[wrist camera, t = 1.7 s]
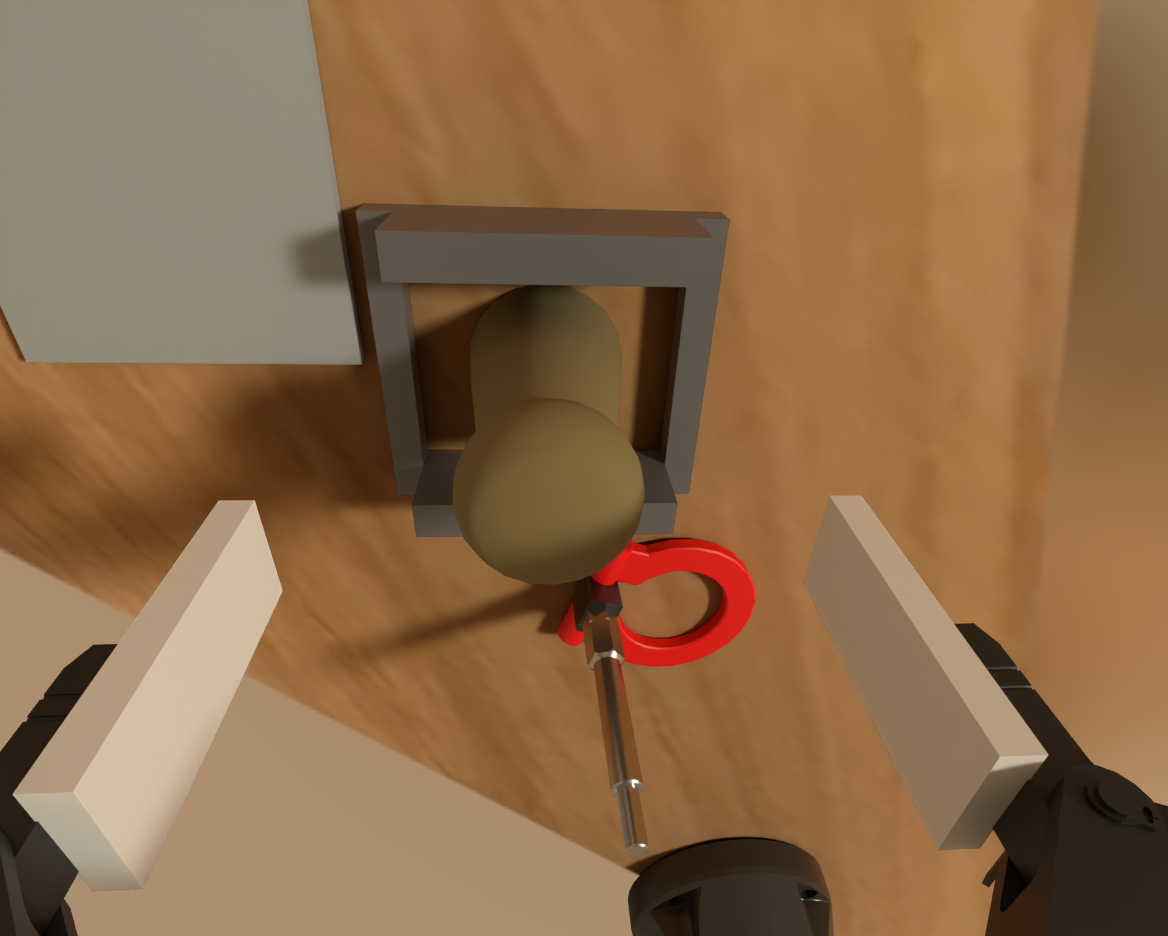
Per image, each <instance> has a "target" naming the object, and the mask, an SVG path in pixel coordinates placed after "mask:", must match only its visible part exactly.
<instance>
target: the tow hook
mask: <svg viewBox="0 0 1168 936" xmlns="http://www.w3.org/2000/svg"><path fill="white" fill-rule="evenodd" d="M673 571H691V572H696V573H701V574H704V575H706V576H708V577H710V578H712V579H714V580H715V581H716V582H717V583H718V584H719V585H720V586H721V587H722V591H723V598H722V602H721V606H720V607H719V609H718V611H717V612H716V614H715V615H714V616H713V617H712V618H711V619H710V620H709V621H708V622H707V623H706V624H705V625H703V626H702V627H700V628H699V629H697V630H695V631H693V632H691V633H688V634H686V635H683V636H679V637H674V638H667V639H655V638H648V637H644V636H641V635H639V634H636V633H634V632H632V631H631V630H630V629H628V628H627V627H626V626H625V625H624V623H623V622H622V620H621V619H620V616H619V613H620V611H621V610H622V608H623V606H622V602H621V597H620V592H619V587H618V582H623V583H627V584H632V585H638V584H641V583H643V582H644V581H646V580H648V579H650V578H653V577H655V576H657V575H660V574H664V573H669V572H673ZM617 581H618V582H617ZM754 604H755V588H754V584H753V582H752V580H751V577H750V575H749V573H748V571H747V569H746V567H745V565H744V563H743V562H742V561H741V560H740V559H739V558H738V557H737V556H736V555H735V554H734V553H733V552H731V551H729V550H727V549H725V548H723V547H721V546H719V545H717V544H715V543H711V542H706V541H701V540H696V539H672V540H667V541H663V542H658V543H653V544H649V545H647V546H646V545H641V544H637V543H633V542H632V540H630V542H629V543H628V545H627V546H626V548H625V549H624V550H623V552H622V553H621V554H620V555H619V556H618V557H617V558H615V559H614V560H613V561H612V562H611V563H609V564H608V565H607V566H606V567H605V568H603V569H602V570H601V571H599V572H596V573H594V574H592V575H590V576H588V577H585V578H583V579H582V580H581V582H580V584H579V586H578V588H577V590H576V592H575V594H574V596H573V599H572V604H571V606H570V608H569V610H568V612H567V614H566V615H565V617H564V619H563V621H562V623H561V625H560V627H559V629H558V635H559V637H560V639H561V640H562V641H563V642H565V643H566V644H568V645H572V646H577V645H579V644H581V643H582V641H583V640H584V643H585V650H586V658H587V664H588V666H589V668H590V669H592V670H593V671H594V675H595V682H596V689H597V696H598V703H599V710H600V717H601V724H602V731H603V738H604V745H605V752H606V759H607V766H608V773H609V780H610V787H611V793H612V794H613V795H614V796H615V797H618V802H619V809H620V815H621V822H622V829H623V835H624V842H625V849H626V853H627V854H628V855H630V856H641V855H643V854H645V853H646V852H647V851H648V849H649V847H648V841H647V836H646V830H645V824H644V819H643V813H642V808H641V802H640V796H639V794H640V793H641V791H642V790H643V781H642V776H641V770H640V765H639V759H638V754H637V749H636V743H635V738H634V733H633V727H632V722H631V717H630V711H629V706H628V701H627V695H626V690H625V685H624V679H623V674H622V669H621V666H622V664H623V663H624V661H627V662H630V663H632V664H638V665H645V666H652V667H653V666H673V665H678V664H683V663H687V662H692V661H694V660H697V659H699V658H702V657H705V656H707V655H710V654H711V653H713V652H715V651H716V650H718V649H720V648H721V647H723V646H724V645H726V644H728V643H729V642H730V641H731V640H732V639H733V638H734V637H735V636H736V635H737V634H738V633H739V632H740V631H741V630H742V629H743V627H744V626H745V624H746V623H747V621H748V620H749V618H750V617H751V614H752V610H753V607H754Z"/></svg>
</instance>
